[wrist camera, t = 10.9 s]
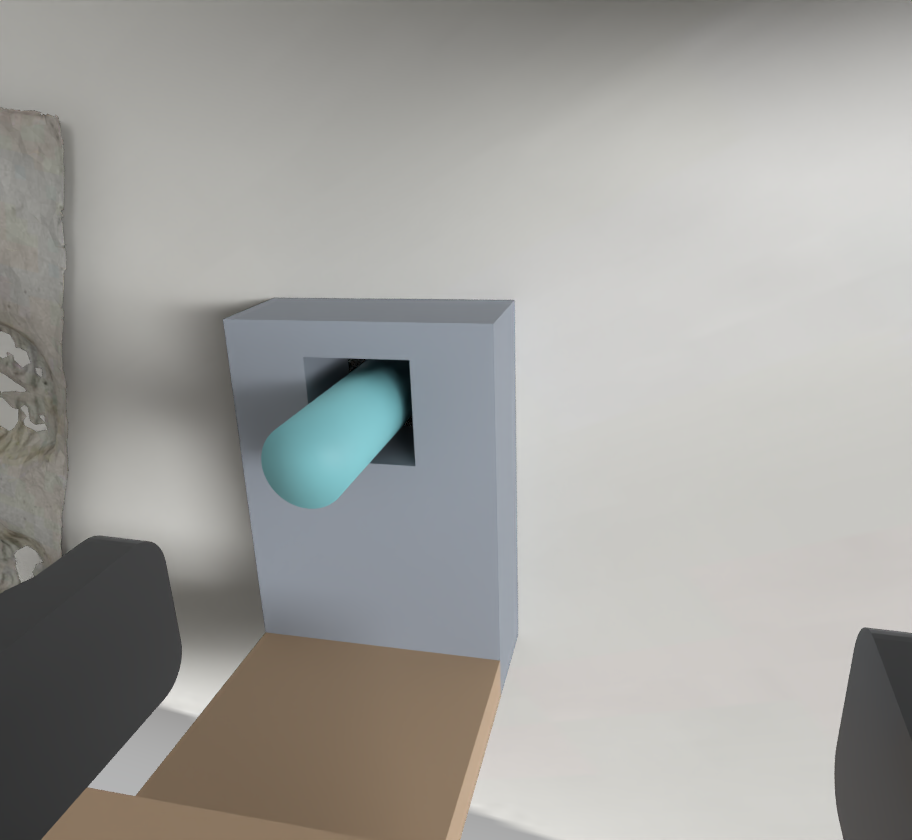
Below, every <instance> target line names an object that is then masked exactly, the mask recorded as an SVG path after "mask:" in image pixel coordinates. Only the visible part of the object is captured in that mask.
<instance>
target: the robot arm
mask: <svg viewBox="0 0 912 840" xmlns="http://www.w3.org/2000/svg"><path fill="white" fill-rule="evenodd" d="M181 656H182V646H181V639H180V634H179V629H178V624H177V618H176V613H175V608H174V603H173V598H172V592H171V587H170V582H169V577H168V571H167V566H166V561H165V557H164V555H163V552H162V551H161V549H160V548H159V547H158V546H157V545H156V544H155V543H153V542H148V541H140V540H132V539H123V538H115V537H106V536H93V537H90V538H88V539H86V540H85V541H83V542H82V543H80V544H79V545H78V546H76V547H75V548H74V549H72V550H71V551H69V552H68V553H67V554H65V555H64V556H62V557H61V558H60V559H58V560H57V561H56V562H54V563H53V564H51V565H50V566H49V567H47V568H46V569H44V570H43V571H42V572H40V573H39V574H38V575H36V576H35V577H33V578H31V579H29V580H27V581H25V582H22V583H20V584H18V585H16V586H14V587H11V588H9V589H7V590H5V591H3V592H2V593H1V594H0V840H41V839H42V838H43V837H44V836H45V835H46V833H47V832H48V831H49V830H50V829H51V828H52V827H53V825H54V824H55V823H56V822H57V821H58V820H59V819H60V817H61V816H62V815H63V814H64V813H65V812H66V811H67V809H68V808H69V807H70V806H71V805H72V804H73V803H74V801H75V800H76V799H77V798H78V797H79V796H80V795H81V793H82V792H83V791H84V790H85V789H86V788H87V787H88V785H89V784H90V783H91V782H92V781H93V780H94V779H95V778H96V776H97V775H98V774H99V773H100V772H101V771H102V770H103V768H104V767H105V766H106V765H107V764H108V763H109V762H110V760H111V759H112V758H113V757H114V756H115V754H117V752H118V751H119V750H120V749H121V748H122V747H123V745H124V744H125V743H126V742H127V741H128V740H129V739H130V738H131V736H132V735H133V734H134V733H135V732H136V731H137V730H138V728H139V727H140V726H141V725H142V724H143V723H144V722H145V720H146V719H147V718H148V717H149V716H150V715H151V714H152V712H153V711H154V710H155V709H156V708H157V707H158V706H159V704H160V703H161V702H162V701H163V700H164V699H165V697H166V696H167V695H168V694H169V692H170V690H171V689H172V687H173V685H174V683H175V681H176V678H177V675H178V672H179V669H180V664H181ZM835 796H836V805H837V812H838V817H839V821H840V826H841V830H842V835H843V839H844V840H912V633H907V632H899V631H890V630H882V629H873V628H863V629H861V631H860V632H859V634H858V636H857V640H856V643H855V648H854V653H853V658H852V664H851V669H850V675H849V680H848V686H847V691H846V697H845V702H844V708H843V713H842V719H841V724H840V730H839V735H838V741H837V747H836V755H835Z"/></svg>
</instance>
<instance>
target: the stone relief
mask: <svg viewBox="0 0 912 840" xmlns="http://www.w3.org/2000/svg"><path fill="white" fill-rule="evenodd" d="M39 113H42V112H37V111H35V110H34V111H32V110H30V111H20V110H14V109H9V110H8V109H7V108H6V109H4V108H0V331H2V332H5V333H7V334H10V335H11V337H12V339H13V340H14V342H15V346H16V348H18V347H19V348H21V349H23V350H25V351H27V354H28V356H29V359H30V362H31V363H30V364H28V365H26V366H24V367H22V366H20V365H19V364H18V363H17V362H16V361H14V357H13V355H12V354H10V353H9V352H7V357H5V358H1V357H0V372H1V373H3V374H5V375H6V376H8V377H9V378H10V379H12V380H13V381H14V382H16V383H18V384H19V385H21V386H22V387H24V388H25V389H26V391H25V392H17V391H11V392H2V393H1V392H0V397H2V398H3V399H4V400H5V401H6V402H7V403H8V404H9V405H10V406H11V407H12V408H14V409H19V412H18V422H17V424H16V426H15V428H13V429H12V430H10V431H7V430H6V429H4V428H3V427H1V426H0V594H1V593H2V592H3V591H5V590H7V589H9V588H11V587H14V586H16V585H18V584H20V583H21V582H20V579H19V577H18V574H17V570H16V567H15V564H16V562H17V561H16V559H15V557H14V553H15V552H16V551H17V550H19V549H20V548H23V547H25V546H29V547H31V548H32V549H34V550H36V552H37V553H38V555H39V556H40V558H41V559H42V561H43V562H42V563H39V564H36V566H35V569H34V571H33V575H34V577H35V576H36V575H38V574H39V573H40V572H42V571H43V570H44V569H46V568H47V567H49V566H50V565H51V564H53V563H54V562H56V561H57V560H58V559H60V558H61V557H62V552H61V547H60V545H61V539H62V536H61V531H62V530H61V528H62V527H63V526H62V521H61V518H62V515H61V514H62V511H63V508H62V507H63V505H64V500H65V490H66V488H65V487H66V480H67V477H68V474H67V471H69V470H68V455H67V454H66V453H67V442H66V439H67V438H68V421H67V415H66V411H67V410H66V394H67V393H66V388H67V386H66V381H65V375H64V372H63V368H62V365H63V361H62V344H61V341H62V331H63V323H64V321H63V320H62V317H63V318H64V310H63V309H62V308H61V306H62V305H63V291H64V276H63V274H64V270H67V268H66V249H65V248H64V247H63V245H65V243H64V233H63V222H62V221H61V217H63V216H64V215H63V214H62V213H61V210H63V209H64V165H63V154H64V149H63V148H62V145H64V141H63V139H62V137H61V126H60V122H59V120H58V119H59V118H58V116H57V115H55V117H54V116H51V115H49V114H47V115H44V114H43V115H42V116H41V115H40V114H39ZM35 367H36V368H41V369H42V377H41V378H40V376H39V375H38V374H37V373H36V370H35ZM23 405H25V406H27V407H28V411H29V417H30V421H31V422H32V423H33V424H35V425H37V424H44V423H45V424H46V426H47V430H44V431H38V432H36V431H34V430H32V429H30V428H28V427H26V426H25V425H24V423H23V420H24V419H25V418H26V415H25V414H24V412H23V411H22V409H21V407H22V406H23ZM39 415H44V417H45V422H44V421H43V420H42V419H41V418H40V416H39Z"/></svg>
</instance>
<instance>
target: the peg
mask: <svg viewBox="0 0 912 840" xmlns="http://www.w3.org/2000/svg"><path fill="white" fill-rule="evenodd" d="M412 415H413V414H412V397H411V379H410V361H409V360H389V359H367V360H366V361H365V362H363V363H362V364H361V365H360V366H358V367H357V368H356V369H354V370H353V371H352V372H350V373H349V374H348V375H346V376H345V377H344V378H342V379H341V380H340V381H338V382H337V383H336V384H334V385H333V386H332V387H331V388H329V389H328V390H327V391H325V392H324V393H323V394H321V395H320V396H319V397H317V398H316V399H315V400H313V401H312V402H311V403H309V404H308V405H307V406H305V407H304V408H303V409H302V410H300V411H299V412H298V413H296V414H295V415H294V416H292V417H291V418H290V419H288V420H287V421H286V422H284V423H283V424H282V425H280V426H279V427H278V428H276V429H275V430H274V431H273V432H272V433H271V434H270V435H269V436H268V437H267V439H266V441H265V443H264V445H263V448H262V454H261V463H262V469H263V472H264V475H265V477H266V480H267V481H268V483H269V485H270V486H271V488H272V489H273V490H274V491H275V492H276V493H277V494H278V495H279V496H280V497H281V498H282V499H284V500H285V501H287V502H289V503H291V504H293V505H295V506H298V507H301V508H307V509H317V508H322V507H325V506H328V505H330V504H331V503H333V502H334V501H336V500H337V499H338V498H339V497H340V496H341V494H342V493H343V492H344V491H345V490H346V489H347V488H348V487H349V485H350V484H351V483H352V482H353V481H354V480H355V479H356V478H357V477H358V475H359V474H360V473H361V472H362V471H363V470H364V469H365V468H366V466H367V465H368V464H369V463H370V462H371V461H372V460H373V459H374V457H375V456H376V455H377V454H378V453H379V452H380V451H381V450H382V448H383V447H384V446H385V445H386V444H387V443H388V442H389V441H390V439H391V438H392V437H393V436H394V435H395V434H396V433H397V432H398V430H399V429H400V428H401V427H402V426H403V425H404V424H405V423H406V421H407V420H408V419H409V418H410V417H411V416H412Z"/></svg>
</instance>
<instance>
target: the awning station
mask: <svg viewBox="0 0 912 840" xmlns="http://www.w3.org/2000/svg"><path fill="white" fill-rule="evenodd" d="M223 323H224V330H225V337H226V345H227V352H228V359H229V367H230V374H231V381H232V389H233V396H234V403H235V411H236V418H237V425H238V433H239V440H240V448H241V455H242V462H243V470H244V477H245V484H246V492H247V499H248V506H249V514H250V521H251V528H252V536H253V543H254V551H255V558H256V565H257V573H258V580H259V587H260V595H261V602H262V609H263V617H264V624H265V631H266V633H265V634H264V635H263V636H262V638H261V639H260V640H259V641H258V643H257V644H256V645H255V646H254V648H253V649H252V650H251V651H250V653H249V654H248V655H247V656H246V658H245V659H244V660H243V661H242V663H241V664H240V665H239V666H238V668H237V669H236V670H235V672H234V673H233V674H232V675H231V677H230V678H229V679H228V680H227V682H226V683H225V684H224V685H223V687H222V688H221V689H220V690H219V692H218V693H217V694H216V695H215V697H214V698H213V699H212V700H211V702H210V703H209V704H208V705H207V707H206V708H205V709H204V710H203V712H202V713H201V714H200V715H199V717H198V718H197V719H196V721H195V722H194V723H193V724H192V726H191V727H190V728H189V729H188V731H187V732H186V733H185V735H184V736H183V737H182V738H181V739H180V741H179V742H178V743H177V744H176V746H175V747H174V748H173V749H172V751H171V752H170V753H169V755H168V756H167V757H166V758H165V759H164V761H163V762H162V763H161V764H160V766H159V767H158V768H157V770H156V771H155V772H154V773H153V775H152V776H151V777H150V778H149V780H148V781H147V782H146V783H145V785H144V786H143V787H142V788H141V790H140V791H139V792H138V793H137V795H136V796H131V795H126V794H120V793H114V792H108V791H104V790H98V789H93V788H86V789H85V790H84V791H83V792H82V793H81V795H80V796H79V797H78V798H77V799H76V800H75V801H74V803H73V804H72V805H71V806H70V807H69V808H68V809H67V811H66V812H65V813H64V814H63V815H62V816H61V817H60V819H59V820H58V821H57V822H56V823H55V824H54V825H53V827H52V828H51V829H50V830H49V831H48V832H47V833H46V835H45V836H44V837H43V838H42V839H41V840H460V838H461V835H462V831H463V828H464V824H465V821H466V817H467V814H468V810H469V807H470V803H471V800H472V796H473V792H474V789H475V785H476V782H477V778H478V775H479V771H480V768H481V764H482V761H483V757H484V754H485V750H486V747H487V743H488V739H489V736H490V732H491V729H492V725H493V722H494V718H495V715H496V711H497V708H498V704H499V701H500V697H501V693H502V690H503V686H504V683H505V679H506V676H507V672H508V669H509V665H510V662H511V658H512V655H513V651H514V648H515V644H516V640H517V637H518V583H517V491H516V400H515V308H514V300H439V299H337V298H273V299H271V300H268V301H266V302H263V303H261V304H259V305H256V306H254V307H251V308H249V309H247V310H244V311H242V312H239V313H237V314H234V315H232V316H230V317H227V318H225V319H223ZM348 358H354V359H389V360H409V361H410V379H411V397H412V414H413V426H402V427H401V428H400V429H399V430H398V432H397V433H396V434H395V435H394V436H393V437H392V438H391V439H390V441H389V442H388V443H387V444H386V445H385V446H384V447H383V448H382V450H381V451H380V452H379V453H378V454H377V455H376V456H375V457H374V459H373V460H372V461H371V462H370V463H369V464H368V465H367V466H366V468H365V469H364V470H363V471H362V472H361V473H360V474H359V475H358V477H357V478H356V479H355V480H354V481H353V482H352V483H351V484H350V485H349V487H348V488H347V489H346V490H345V491H344V492H343V493H342V494H341V496H340V497H339V498H338V499H337V500H336V501H334V502H333V503H331V504H330V505H328V506H325V507H322V508H317V509H307V508H301V507H298V506H295V505H293V504H291V503H289V502H287V501H285V500H284V499H282V498H281V497H280V496H279V495H278V494H277V493H276V492H275V491H274V490H273V489H272V488H271V486H270V485H269V483H268V481H267V480H266V477H265V475H264V472H263V469H262V463H261V454H262V448H263V445H264V443H265V441H266V439H267V437H268V436H269V435H270V434H271V433H272V432H273V431H274V430H275V429H276V428H278V427H279V426H280V425H282V424H283V423H284V422H286V421H287V420H288V419H290V418H291V417H292V416H294V415H295V414H296V413H298V412H299V411H300V410H302V409H303V408H304V407H305V406H307V405H308V404H309V403H311V402H312V401H313V400H315V399H316V398H317V397H319V396H320V395H321V394H323V393H324V392H325V391H327V390H328V389H329V388H331V387H332V386H333V385H334V384H336V383H337V382H338V381H340V380H341V379H342V378H344V377H345V376H346V375H348V374H349V367H348Z"/></svg>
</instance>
